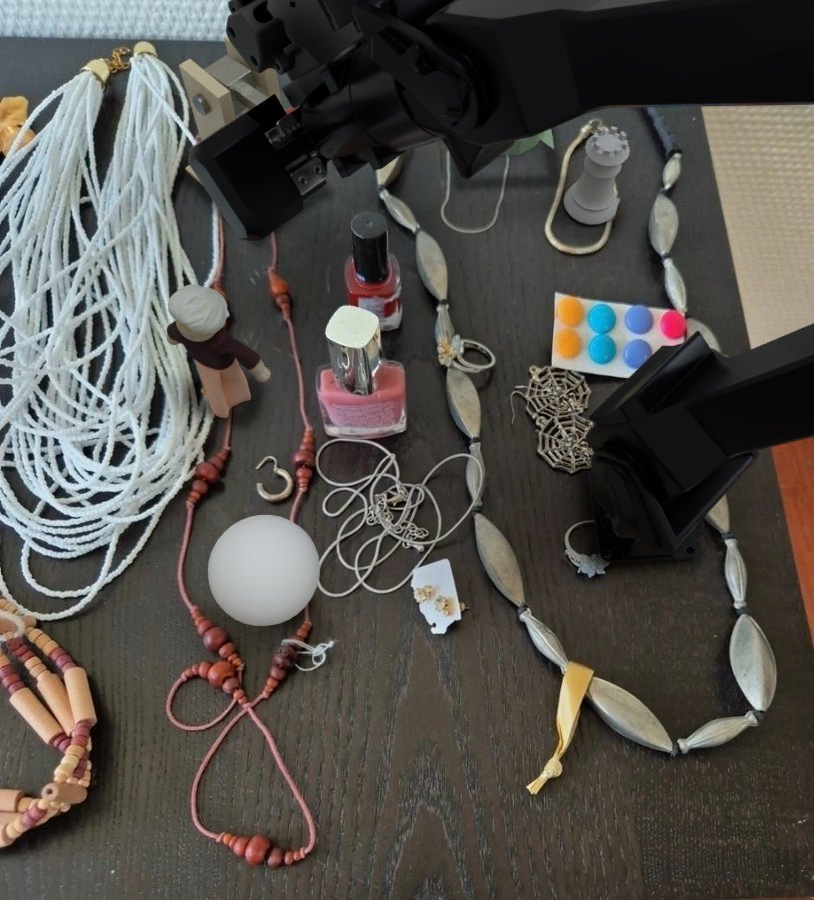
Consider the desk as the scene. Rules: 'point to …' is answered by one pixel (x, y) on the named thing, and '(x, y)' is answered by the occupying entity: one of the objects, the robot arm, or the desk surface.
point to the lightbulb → (263, 570)
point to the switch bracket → (219, 95)
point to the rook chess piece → (598, 178)
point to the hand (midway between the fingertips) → (286, 137)
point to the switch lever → (238, 83)
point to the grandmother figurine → (213, 347)
